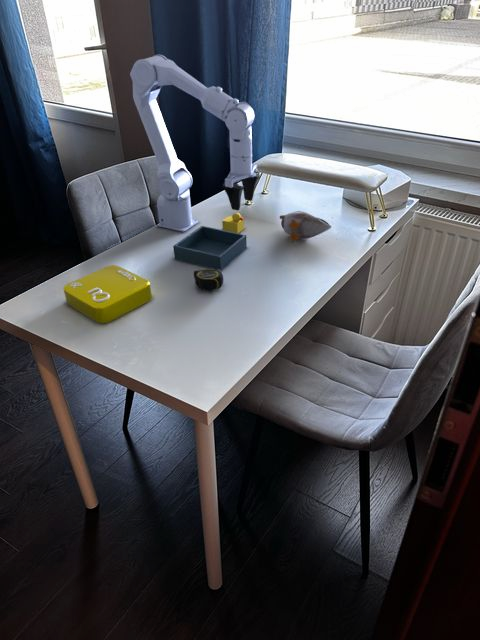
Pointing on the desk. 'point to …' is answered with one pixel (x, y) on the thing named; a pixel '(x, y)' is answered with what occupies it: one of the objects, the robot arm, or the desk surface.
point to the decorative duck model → (303, 225)
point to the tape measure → (208, 279)
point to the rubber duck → (233, 223)
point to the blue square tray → (210, 247)
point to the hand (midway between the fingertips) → (242, 204)
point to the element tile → (107, 293)
